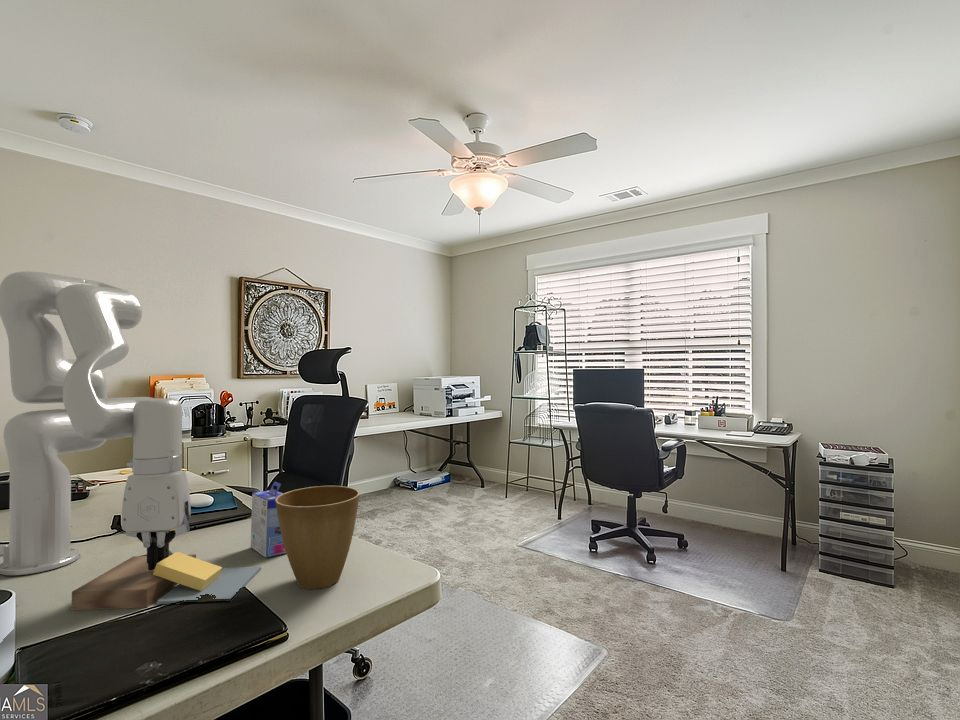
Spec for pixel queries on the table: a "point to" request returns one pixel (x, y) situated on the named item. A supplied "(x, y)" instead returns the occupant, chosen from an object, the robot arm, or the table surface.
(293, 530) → the plant pot
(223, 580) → the slate mat
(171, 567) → the ochre block
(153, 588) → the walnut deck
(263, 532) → the ink cartridge box
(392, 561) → the table surface
